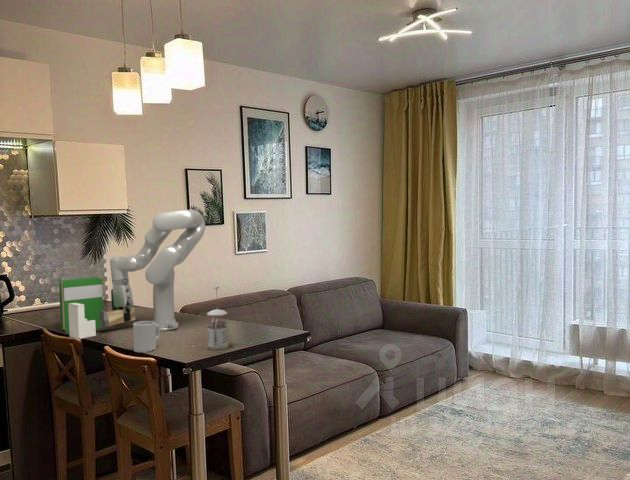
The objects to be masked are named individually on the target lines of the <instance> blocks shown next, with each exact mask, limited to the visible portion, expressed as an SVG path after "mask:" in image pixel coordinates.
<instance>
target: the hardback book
mask: <svg viewBox="0 0 630 480" xmlns="http://www.w3.org/2000/svg"><path fill="white" fill-rule="evenodd" d="M58 290H59V291H58V292H59V313H60V314H59V315H60V317H59V318H60V319H59V320H60V331H61V332H63V331H64V333H65V334H67V333H69V310H68V304H70V303H79V304H84V314H85V319H87V321H91V320H95V327H96V329H102V328H101V326H100V318H99V311H104V295H103V292H104V291H103V278H102V277H98V276H97V277H96V276H95V277H83V278H73V279H72V278H71V279H60V280H58Z"/></svg>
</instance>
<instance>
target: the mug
mask: <svg viewBox="0 0 630 480" xmlns="http://www.w3.org/2000/svg"><path fill="white" fill-rule="evenodd" d="M132 328H133V331H132V332H133V352H135V353H141V352H142V353H149V352H148V351H151V352H153V351H152V350H154V351H156V350H157V341H158V340H159V339H160V336H161V331H160V328H159V325H157V324H155V322H154V320H140V321H135V322H133V323H132ZM155 328H156V329H157V331H156V330H155ZM155 349H156V350H155Z"/></svg>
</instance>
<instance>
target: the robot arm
mask: <svg viewBox="0 0 630 480" xmlns="http://www.w3.org/2000/svg"><path fill="white" fill-rule="evenodd" d="M205 222H206V221H205V219H204V217H203V215H202V214H201V212H199V211H198V210H195V209H182V210H172V211H167V212H159V213H157V214H156V215H154V217H153V219H152V226H151V227H150V228H149V230H148V231H147V232H146V234H145V235H144V244H143V245H142V247H141V249H139V251H138V252H137V253H136V254H135V255H129V256H118V257H117V256H116V257H111V258H110V260H109V265H110V276H111V282H112V285H111V286H112V289H113V302H114V307H115V308H116V310H119V309H124V313H123V314H124V321H125V322H124V323H127V322H126V321H128V322H131V321H130V320H131V317H130V312H131V311H130V310H131V308H134V307H133V305H134V299H133V298H134V297H133V293H132V289H131V285H130V281H129V280H130V278H129V273H133V272H136V271H141V270H143V269H145V268H146V267H147V268H146V270H145V271H144V272H145V276H144V277H145V279H146V281H147V282H148V283H149V284H151V285H152V304H153V305H152V307H153V308H152V309H153V321H154V322H155V324H157V325H159V328H160V332H165V331H172V330H176V329H178V328H179V321H178V322H177V320H176V318H175V290H174V289H175V288H174V287H175V284H174V283H175V275H176V274H175V269H174V268H175V267H176V266H179V265H181V264H182V263H184V261H185V260H186V259H187V257H188V256H189V255H190V254H191V252H193V250H194V249H195V247H196V246H197V244H198V243H199V242H200V240H201V239H202V238H203V237H204V236H203V235H204V234H205V230H206V223H205ZM174 230H175V231H176V230H184V231H183V232H182V233H181V234H180V236H179V237H178V238H177V239H176V241H174V243H173V244H171V245H168V246H165V247H164V248H162V249H161V250H160V251H159V248H160V247H161V246H162V244H163V243H164V241H165V240H166V239H167V238H168V236H169V235H170V234H171V233H172V232H173V231H174ZM158 251H159V252H158ZM126 305H127V306H126ZM120 307H121V308H120ZM126 307H127V308H126ZM155 330H156V332H157V329H156V328H155Z"/></svg>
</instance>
